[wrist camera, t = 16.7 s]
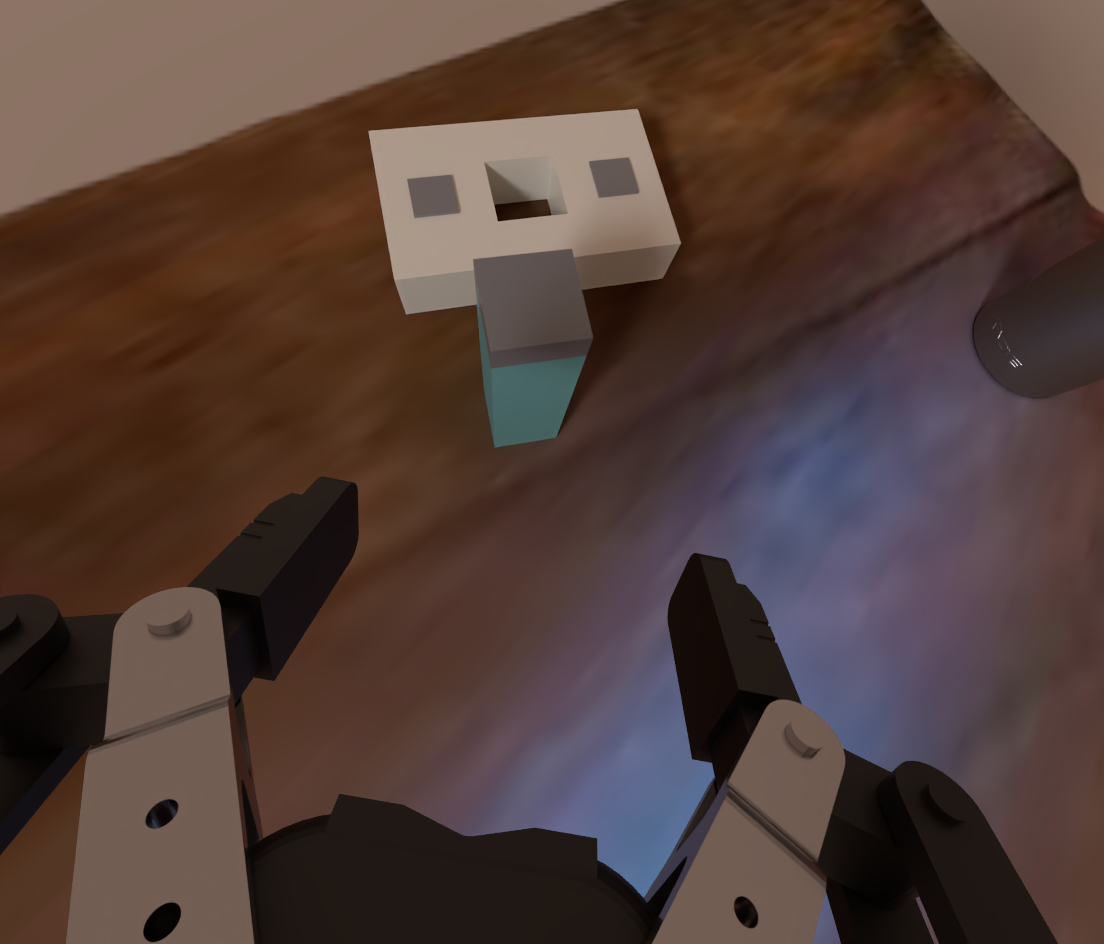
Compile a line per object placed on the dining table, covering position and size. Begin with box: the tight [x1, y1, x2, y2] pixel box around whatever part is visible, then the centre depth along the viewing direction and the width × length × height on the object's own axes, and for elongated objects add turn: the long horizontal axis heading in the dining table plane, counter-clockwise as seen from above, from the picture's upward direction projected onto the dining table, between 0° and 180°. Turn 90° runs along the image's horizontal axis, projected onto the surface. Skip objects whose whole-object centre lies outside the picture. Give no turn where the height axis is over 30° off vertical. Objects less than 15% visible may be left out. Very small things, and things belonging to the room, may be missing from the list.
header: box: [369, 109, 681, 314], centre depth 35 cm, size 20×12×4 cm, turn 103°
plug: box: [473, 249, 593, 447], centre depth 27 cm, size 4×4×14 cm
